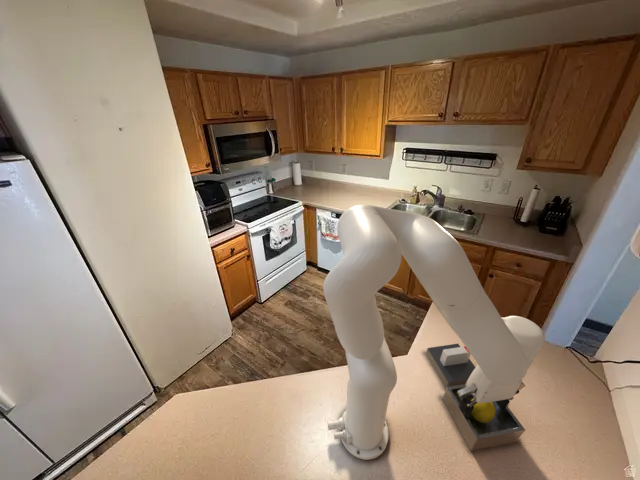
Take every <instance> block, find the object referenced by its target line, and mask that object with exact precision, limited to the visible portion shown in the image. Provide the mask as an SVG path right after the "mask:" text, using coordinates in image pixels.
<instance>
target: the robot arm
mask: <svg viewBox="0 0 640 480" xmlns="http://www.w3.org/2000/svg"><path fill="white" fill-rule="evenodd" d="M336 230H337V237H338V241H339V244H340V246H341V250H342V254H343V256H342V258H341V259H340V260H339V261H338V263H336V264H335V265H334V266H333V267H332V269H330V270H329V272H328V273H327V275H326V276H325V279H324V281H323V286H322V289H323V290H322V292H323V296H324V298H325V301H326V305H327V308H328V311H329V315H330V317H331V321H332V324H333V327H334V331H335V333H336V337H337V340H338V341H339V343H340V345H341V346H342V348H343V349H344V352H345V358H346V363H347V364H346V365H347V370H348V381H347V383H346V384H347V385H346V406H345V410H344V412H343V413H342V415H341V417H338V419H336V420H335V419H333V420H332V419H331V420H328V421H327V422H326V423H327V431H333V430H336V429H337V430H338V429H339V431H336V432H333V438H334V440H341V442H342V444H343V446H344V448H345V449H346V450H347V451H348V452H349V454H351V455H353V457H355V458H358V459H361V460H366V461H369V460H374V459H376V458H379V457H380V456H381V455H382V454H383V453H384V452H385V450H386V449H387V446H388V442H389V427H388V424H387V421H386V416H387V413H388V412H387V411H388V406H389V401H390V400H389V399H390V396H391V393H392V392H393V390H394V389H395V387H396V385H397V382H398V374H397V368H396V365H395V361H394V359H393V355H392V352H391V351H390V347H389V345H388V342H387V340H386V338H385V328H384V322H383V319H382V315H381V313H380V310H379V307H378V304H377V298H376V294H377V292H378V291H380V290H381V289H383V287H385V286H386V285H387V284H389V283H390V281H391V280H392V279H394V277H395V276H396V275H397V272H398V271H399V269H400V267H401V263H402V257H403V258H404V260H405V261H406V262H407V264H408V266H409V267H410V269H411V271H412V272H413V274H414V275H415V277H416V278H417V280H418V282H419V283H420V284H421V286H422V287H423V289H424V291H425V292H426V293H427V295H428V296H429V298H430V299H431V301H432V302H433V304H434V305H435V307H436V309H437V310H438V311H439V313H440V314H441V316H442V317H443V319H444V321H446V323H447V325H448V326H449V327H450V328H451V330H452V331H453V332H454V333H455V334H456V336H457V337H458V338H459V339H460V341H461V343H462V344H463V345H464V346H466V348H467V349H468V351H469V352H470V354H471V355H470V356H472V358H473V359H474V361H475V362H476V364H477V365H476V366H475V367H476V368H475V369H474V370H473V372H472V373H471V375H470V377H469V379H468V381H467V383H466V387H465V388H463V389H461V390H459V391H457V393H458V395H459V397H460V398H461V402H460V405H461V408H462V410H463V411H464V412H465V413H466V415H467V416H470V415H471V413H472V411H473V409H474V406H473V405H475V404H476V403H488V402H494V401H496V403H497V404H498V406H499V407H500V408H501V410H505V409H506V407H507V406H508V407H509V404H510V402H511V401H513V400H514V399H515V398H514V397H515V395H518V394H519V393H520V391H521V390H522V389H523V388H525V387H526V384H525V383H524V382H523V380H524V378H525V376H526V375H527V373H528V370H529V369H530V367H531V365H532V364H533V362H534V360H535V359H536V357H537V355H539V352H540V350H541V349H542V347H543V345H544V343H545V341H546V339H545V333H544V331H543V330H542V328H541V327H540V326H539V325H538V324H536V323H535V322H533V321H532V320H530V319H528V318H526V317H523V316H519V315H509V316H505V317H503V316H501V315H500V313H499V312H498V309H497V308H496V306H495V304H494V303H493V302H492V300H491V299H490V297H489V296H488V295H487V293H486V291H485V289H484V287H483V285H482V284H481V281H480V279H479V278H478V276H477V274H476V272H475V269H474V268H473V266H472V264H471V262H470V259H469V258H468V255H467V254H466V252H465V250H464V248H463V246H462V245H461V244H460V243H459V242H458V240H457V239H456V238H455V237H454V236H453V235H451V233H450V232H449V231H447V230H446V229H445V228H444V227H443V226H441V225H440V224H439V223H438V222H437V221H436V220H434V219H433V218H431V217H428V216H426V215H424V214H419V213H415V212H409V211H404V210H400V209H395V208H388V207H383V206H378V205H372V204H357V205H353V206H351V207H348V208H347V209H346V210H344V212H342V214H341V215H340V217H339V218H338V221H337V227H336ZM475 392H476V393H475ZM470 394H472V395H473V397H474V399H473V400H472V401H471V400H470V399H469V397H468V396H469V395H470Z"/></svg>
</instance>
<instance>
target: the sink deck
mask: <svg viewBox="0 0 640 480" xmlns="http://www.w3.org/2000/svg"><path fill="white" fill-rule="evenodd" d="M458 347H461V345H460V344H459V343H452V344H445V345H439V346H431V347H427V349H426V351H425V354H426V356H427V358H428V360H429V362H430V363H431V366H433V368H434V370H435V372H436V374H437V375H438V377H439V379H440V380H441V382H442V384H443V386H444V387H445V389H446V388H447V387H451V386H457V385H463V384H466V383H467V381H468V379H469V377H470V375H471V373H472V372H473V370H474V369H475V368H476V366H475V364H474V363H473V361H472V360H471V358H469V360H468V362H467V363H461V364H455V365H448V366H443V364H442V363H441V361H440V358H441V355H442V352H443V350H444V349H451V348H458Z"/></svg>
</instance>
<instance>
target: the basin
mask: <svg viewBox="0 0 640 480" xmlns="http://www.w3.org/2000/svg"><path fill="white" fill-rule="evenodd" d="M465 387H466V384H463V385H457V386H451V387H447V388H446V387H445V391H444V394H443V397H442V401H443V403H444V405H445V406H446V409H447V410H448V412H449V414H450V416H451V417H452V419H453V421H454V423H455V425H456V426H457V429H458V431H459V432H460V434H461V435H462V438H463V440H464V441H465V443H466V445H467V447H468V448H469V450H470V452H472V451H477V450H483V449H488V448H493V447H497V446H502V445H503V446H504V445H507V444H513V443H517V442H518V441H519V440H520V438H521V437H522V435H523V434H524V432H525V431H526V428H525V427H524V426H523V425H522V423H521V422H520V421H519V419H518V418H517V417H516V415H515V414H514V413H513V411H512V410H511V409H510V407H509V405H508V406H507V407H506V409H505V410H501V408H500V407H499V406H498V404H497V403H496V401H494V402H493V404H494V406H495V416H494V419H493V420H492V421H491V422H489V423H482V422H479V421H478V420H476V419H475V418H474V417H473V416H472V414H471V415H470V416H467V415H466V413H465V412H464V411H463V410H462V408H461V405H460V402H461V398H460V397H459V395H458V393H457V391H459V390H461V389H463V388H465ZM475 393H476V392H475ZM468 397H469V399H470V400H472V399H473V398H474V397H473V395H472V394H470V395H469V396H468Z"/></svg>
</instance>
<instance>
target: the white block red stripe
mask: <svg viewBox="0 0 640 480" xmlns="http://www.w3.org/2000/svg"><path fill="white" fill-rule="evenodd" d="M471 356H472V355H471V354H470V352H469V351H468V349H467V348H466V346H465V345H464V346H460V347H458V348H451V349H444V350H443V352H442V355H441V358H440V361H441V363H442V364H443V366H448V365H455V364H461V363H467V362H468V360H469V359H470V357H471Z"/></svg>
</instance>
